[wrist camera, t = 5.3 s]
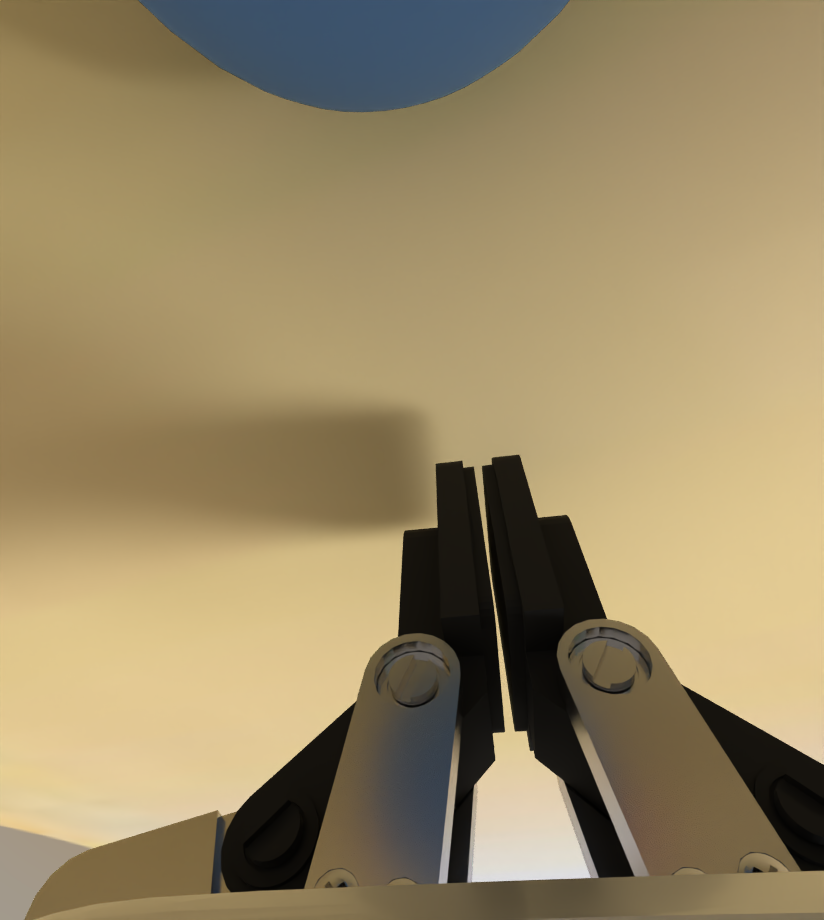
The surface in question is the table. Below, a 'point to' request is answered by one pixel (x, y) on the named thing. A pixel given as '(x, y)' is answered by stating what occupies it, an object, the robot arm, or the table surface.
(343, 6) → the ball
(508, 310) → the table surface
